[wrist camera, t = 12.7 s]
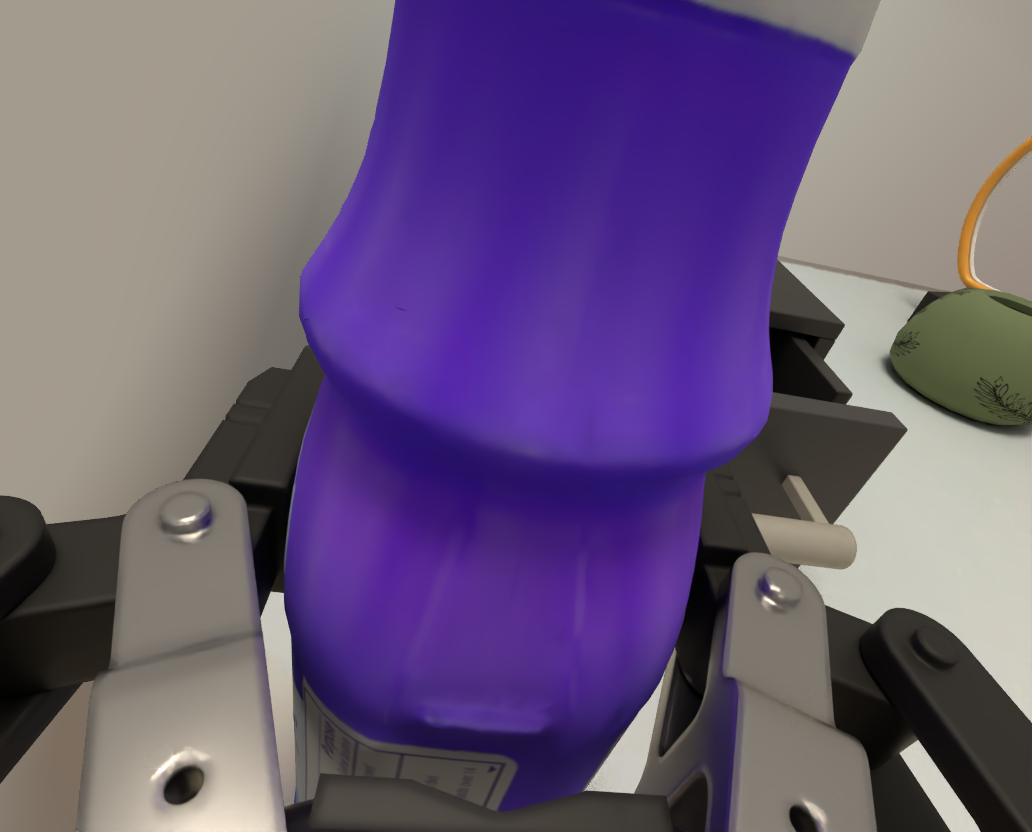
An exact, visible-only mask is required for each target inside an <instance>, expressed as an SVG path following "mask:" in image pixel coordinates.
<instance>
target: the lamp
mask: <svg viewBox="0 0 1032 832" xmlns="http://www.w3.org/2000/svg"><path fill="white" fill-rule="evenodd" d="M1031 154H1032V136H1031V137H1030V138H1029V139H1028V140H1026V141H1025V142H1024V143H1022V144H1021V145H1020V146H1019V147H1018V148H1016V149H1015V150H1014V151H1013V152H1012V153H1011V154H1010V155H1009V156H1007V157H1006V158H1005V159H1004V161H1003V162H1002V163H1001V164H1000V165H999V166H998V167H997V168H996V169H995V170H994V171H993V173H992V174H991V175H990V176H989V177H988V179H987V180H986V182H985V183H984V184H983V186H982V187H981V189H980V190H979V192H978V193H977V195H976V197H975V199H974V201H973V203H972V204H971V207H970V209H969V211H968V213H967V216H966V218H965V221H964V224H963V228H962V232H961V236H960V241H959V247H958V260H957V262H958V272H959V276H960V279H961V281H962V282H963V284H964V285H965V286H966V287H968V288H979V289H989V290H997V289H995V288H992V287H990V286H988V285H986V284H984V283H983V282H981V281H980V280H979V279H978V278H977V277H976V275H975V271H974V249H975V243H976V238H977V233H978V229H979V226H980V223H981V220H982V218H983V215H984V213H985V211H986V209H987V207H988V205H989V203H990V201H991V199H992V197H993V196H994V194H995V193H996V191H997V190H998V188H999V187H1000V186H1001V184H1002V183H1003V182H1004V180H1005V179H1006V178H1007V177H1008V176H1009V174H1010V173H1011V172H1012V171H1013V170H1014V169H1015V168H1016V167H1017V166H1018V165H1019V164H1020V163H1022V162H1023V161H1024V160H1025V159H1026V158H1027V157H1028V156H1029V155H1031ZM997 291H999V290H997ZM949 293H951V292H930V291H928V292H927V294H926V295H925V296H924V298H923V299H922V301H921V302H920V304H919V305H918V307H917V308H916V309H915V311H914V312H913V314H912V315H911V317H910V318H909V320H908V322H909V321H910V320H911V319H912V318H913V317H914V316H915V315H916V314H917V313H918V312H919V311H921V310H922V309H923V308H925V307H926V306H928V305H929V304H930V303H932V302H934V301H935V300H937V299H939V298H941V297H943V296H944V295H946V294H949Z"/></svg>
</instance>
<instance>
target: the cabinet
mask: <svg viewBox="0 0 1032 832" xmlns="http://www.w3.org/2000/svg"><path fill="white" fill-rule="evenodd" d="M844 326H845V324H844V323H843V322H842V321H841V320H840V319H839V318H838V317H836V316H835V315H834V314H833V313H832V312H831V311H830V310H829V309H828V308H827V307H826V306H825V305H824V304H823V303H822V302H821V301H820V300H819V299H818V298H817V297H816V296H815V295H814V294H813V293H812V292H810V291H809V290H808V289H807V288H806V287H805V286H804V285H803V284H802V283H801V282H800V281H799V280H798V279H797V278H796V277H795V276H794V275H793V274H792V273H791V272H790V271H789V270H788V269H787V268H786V267H784V266H783V265H782V264H781V263H780V262H779V261H778V260H777V263H776V268H775V274H774V279H773V285H772V292H771V303H770V314H769V327H770V328H775V329H780V330H786V331H791V332H797V333H800V334H801V335H802V337H803V338H804V339H805V340H806V341H807V342H808V343H809V345H810V346H811V347H812V348H813V349H814V350H815V351H816V352H817V354H818V355H819V356H820V357H821V358H822V359H823V360H824V359H825V357H826V355H827V354H828V352H829V350H830V349H831V347H832V346H833V344H834V342H835V339H837V337H838V336H839V334H840V333H841V331H842V329H843V328H844Z"/></svg>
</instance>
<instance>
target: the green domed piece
mask: <svg viewBox="0 0 1032 832" xmlns="http://www.w3.org/2000/svg"><path fill="white" fill-rule="evenodd" d="M890 356H891V361H892V364H893V366H894V368H895V370H896V372H897V373H898V374H899V375H900V377H901V378H902V379H903V380H904V381H905V382H906V383H907V384H908V385H909V386H911V387H912V388H914V389H915V390H916V391H918V392H919V393H921V394H922V395H923V396H925V397H926V398H928V399H930V400H932V401H934V402H936V403H938V404H939V405H941V406H943V407H945V408H947V409H949V410H951V411H954V412H956V413H959V414H961V415H964V416H966V417H969V418H971V419H974V420H977V421H981V422H986V423H990V424H994V425H1022V424H1032V302H1031V301H1028V300H1026V299H1024V298H1021V297H1018V296H1015V295H1012V294H1009V293H1005V292H1001V291H997V290H989V289H979V288H968V287H967V288H964V289H961V290H957V291H954V292H951V293H949V294H946V295H944V296H943V297H941V298H939V299H937V300H935V301H934V302H932V303H930V304H929V305H928V306H926V307H925V308H923V309H922V310H921V311H919V312H918V313H917V314H916V315H915V316H914V317H913V318H912V319H911V320H910V321H909V322H908V323H907V324H906V325H905V326H904V327H903V328H902V329H901V330H900V331H899V332H898V334H897V336H896V338H895V341H894V343H893V345H892V348H891V350H890Z"/></svg>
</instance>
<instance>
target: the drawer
mask: <svg viewBox="0 0 1032 832" xmlns="http://www.w3.org/2000/svg"><path fill="white" fill-rule="evenodd" d="M769 342H770V354H771V363H772V372H773V396H772V400H771V404H770V410H769V415H768V419H767V422H766V424H765V425H764V427H763V428H762V430H761V431H760V433H759V434H758V436H757V437H756V438H755V439H754V440H753V441H752V442H751V443H750V444H749V445H748V446H746V447H745V448H744V449H743V450H742V451H741V452H740V453H739V454H738V455H737V456H736V457H735V458H734V459H732V460H731V461H729V462H727V463H728V466H729V468H730V470H731V472H732V474H733V476H734V478H733V481H736V482H737V484H738V486H739V488H740V491H741V493H742V494H741V497H743V498H744V499H745V501H746V503H747V505H748V507H749V509H750V511H751V513H752V515H753V518H754V520H755V522H756V524H757V526H758V528H759V530H760V532H761V534H762V536H763V538H764V540H765V542H766V545H767V547H768V549H769V551H770V553H771V555H773V556H775V557H778V558H780V559H782V560H784V561H786V562H788V563H790V564H791V565H793V566H794V567H796V568H797V569H798V567H799V566H800V565H808V566H816V567H824V568H832V569H845V568H847V567H849V566H850V565H851V564H852V563H853V561H854V559H855V557H856V552H857V545H856V540H855V537H854V535H853V534H852V532H851V531H850V530H849V529H848V528H846V527H844V526H841V525H834V522H835V521H836V520H837V519H838V517H839V516H840V515H841V513H842V512H843V511H844V510H845V508H846V507H847V506H848V505H849V503H850V502H851V501H852V500H853V498H854V497H855V496H856V495H857V493H858V492H859V491H860V490H861V488H862V487H863V486H864V485H865V483H866V482H867V481H868V480H869V478H870V477H871V476H872V475H873V473H874V472H875V471H876V470H877V468H878V467H879V466H880V465H881V463H882V462H883V461H884V460H885V458H886V457H887V456H888V454H889V453H890V452H891V451H892V449H893V448H894V447H895V446H896V444H897V443H898V442H899V441H900V439H901V438H902V437H903V436H904V434H905V433H906V432H907V428H906V427H905V426H904V425H903V424H902V423H901V422H900V421H899V420H898V419H897V417H896V416H895V415H894V414H893V413H891V412H886V411H880V410H874V409H868V408H863V407H857V406H851V405H846V404H847V402H848V401H849V399H850V398H851V396H852V392H851V391H850V390H849V389H848V388H847V387H846V385H845V384H844V383H843V382H842V381H841V380H840V379H839V378H838V376H837V375H836V374H835V373H834V372H833V371H832V370H831V368H830V367H829V366H828V365H827V364H826V363H825V362H824V360H823V359H822V358H821V357H820V356H819V355H818V354H817V352H816V351H815V350H814V349H813V348H812V347H811V346H810V345H809V343H808V342H807V341H806V340H805V339H804V338H803V337H802V335H801V334H800V333H797V332H791V331H786V330H780V329H775V328H770V327H769Z"/></svg>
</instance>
